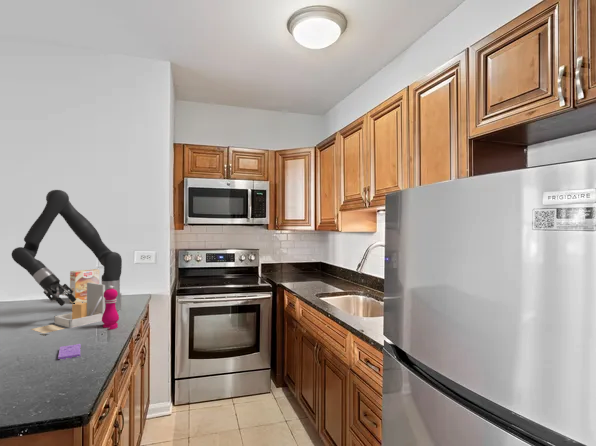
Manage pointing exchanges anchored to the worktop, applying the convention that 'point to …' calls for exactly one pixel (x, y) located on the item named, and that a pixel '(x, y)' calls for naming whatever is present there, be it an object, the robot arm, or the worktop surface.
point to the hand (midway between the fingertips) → (69, 302)
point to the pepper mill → (110, 309)
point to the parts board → (47, 329)
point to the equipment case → (93, 308)
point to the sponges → (69, 351)
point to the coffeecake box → (82, 283)
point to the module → (79, 310)
